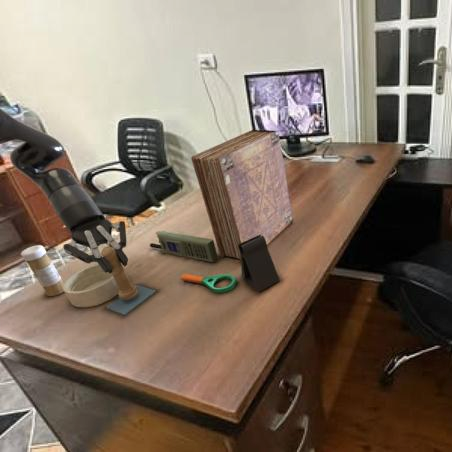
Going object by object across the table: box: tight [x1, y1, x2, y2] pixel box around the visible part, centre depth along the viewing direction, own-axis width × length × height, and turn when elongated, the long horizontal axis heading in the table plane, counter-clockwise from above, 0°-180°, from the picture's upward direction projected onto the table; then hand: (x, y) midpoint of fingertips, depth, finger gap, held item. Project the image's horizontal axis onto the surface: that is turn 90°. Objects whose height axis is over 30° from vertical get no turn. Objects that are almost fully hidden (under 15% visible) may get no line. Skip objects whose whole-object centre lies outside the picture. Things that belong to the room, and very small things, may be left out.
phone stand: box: [238, 234, 280, 293], centre depth 87 cm, size 9×6×12 cm, turn 40°
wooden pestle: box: [100, 246, 138, 300], centre depth 83 cm, size 4×4×14 cm
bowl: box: [63, 263, 120, 308], centre depth 90 cm, size 13×13×5 cm
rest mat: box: [105, 284, 157, 316], centre depth 87 cm, size 9×7×1 cm
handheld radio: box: [149, 230, 219, 263], centre depth 102 cm, size 7×3×25 cm
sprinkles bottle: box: [20, 244, 65, 297], centre depth 90 cm, size 5×5×14 cm
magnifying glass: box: [181, 273, 237, 294], centre depth 90 cm, size 15×6×2 cm, turn 72°
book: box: [190, 129, 294, 260], centre depth 101 cm, size 25×9×30 cm, turn 154°
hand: (118, 267), depth 81 cm, fingers closed on wooden pestle, 2 cm apart
